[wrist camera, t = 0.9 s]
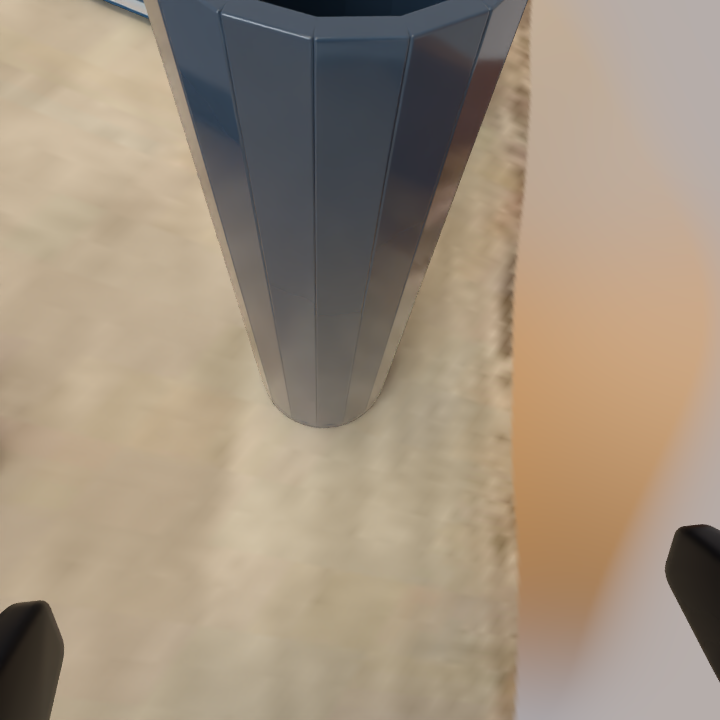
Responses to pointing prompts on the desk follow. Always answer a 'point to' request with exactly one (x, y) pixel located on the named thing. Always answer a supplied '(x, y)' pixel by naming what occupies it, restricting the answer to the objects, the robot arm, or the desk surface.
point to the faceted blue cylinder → (330, 167)
